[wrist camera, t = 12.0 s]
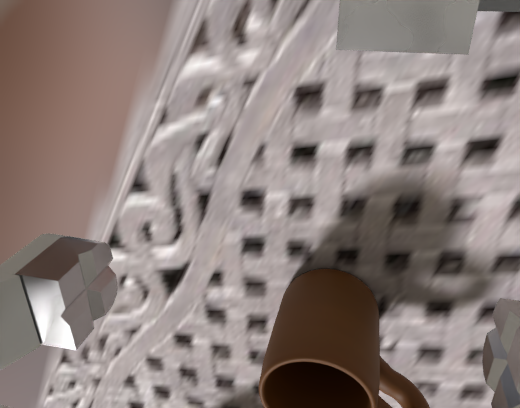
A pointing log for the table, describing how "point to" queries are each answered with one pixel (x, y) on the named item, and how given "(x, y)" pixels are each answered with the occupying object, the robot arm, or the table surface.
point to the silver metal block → (407, 25)
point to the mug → (330, 349)
